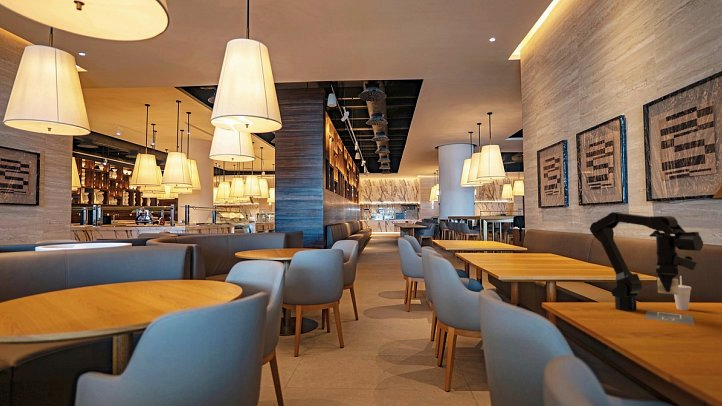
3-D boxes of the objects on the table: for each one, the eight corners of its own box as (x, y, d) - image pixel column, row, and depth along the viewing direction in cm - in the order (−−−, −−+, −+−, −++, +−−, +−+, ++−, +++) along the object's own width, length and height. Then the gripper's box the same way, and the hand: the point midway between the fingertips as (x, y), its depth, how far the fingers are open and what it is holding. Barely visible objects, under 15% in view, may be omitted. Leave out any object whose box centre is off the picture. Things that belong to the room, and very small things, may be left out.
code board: (645, 320, 140) (645, 318, 140) (647, 312, 152) (646, 310, 152) (694, 327, 131) (694, 324, 131) (692, 318, 143) (692, 316, 143)
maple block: (657, 292, 139) (657, 279, 139) (658, 290, 144) (657, 277, 144) (678, 294, 135) (678, 281, 136) (678, 292, 140) (677, 278, 140)
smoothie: (690, 308, 158) (689, 275, 158) (694, 311, 152) (692, 277, 153) (671, 306, 161) (669, 274, 162) (674, 309, 156) (672, 276, 156)
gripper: (696, 251, 128) (698, 297, 127) (693, 248, 142) (695, 289, 142) (655, 250, 135) (657, 293, 134) (656, 247, 149) (658, 285, 149)
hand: (668, 290), depth 140 cm, fingers closed on maple block, 6 cm apart
